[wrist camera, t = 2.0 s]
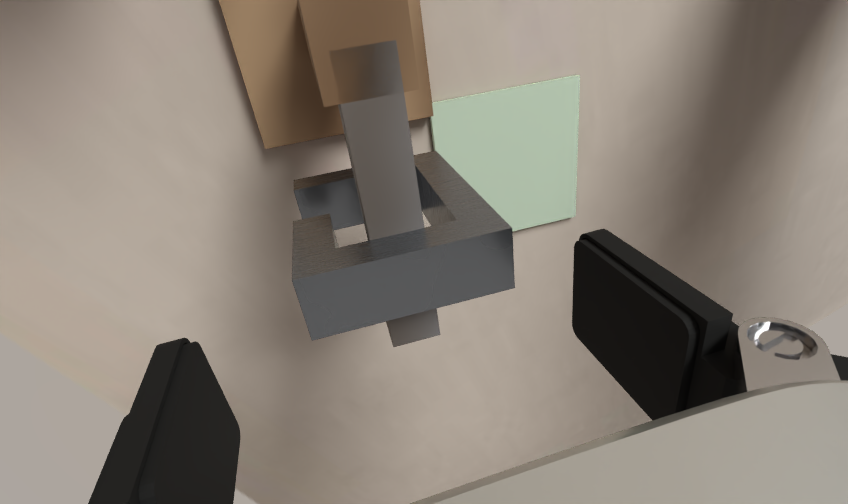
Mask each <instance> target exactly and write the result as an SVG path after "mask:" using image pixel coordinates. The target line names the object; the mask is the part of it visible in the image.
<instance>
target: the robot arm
mask: <svg viewBox="0 0 848 504" xmlns="http://www.w3.org/2000/svg"><path fill="white" fill-rule="evenodd" d="M732 316H733V313H731V312H729V311H728V310H726V309H725V308H723V307H722V306H720V305H719V304H717V303H716V302H714V301H713V300H711V299H710V298H708V297H707V296H705V295H704V294H702V293H701V292H699V291H698V290H696V289H695V288H693V287H692V286H690V285H689V284H687V283H686V282H684V281H683V280H681V279H680V278H678V277H677V276H675V275H674V274H672V273H671V272H669V271H668V270H666V269H665V268H663V267H662V266H660V265H659V264H657V263H656V262H654V261H653V260H651V259H650V258H648V257H647V256H645V255H644V254H642V253H641V252H639V251H638V250H636V249H635V248H633V247H632V246H630V245H629V244H627V243H626V242H624V241H623V240H621V239H620V238H618V237H617V236H615V235H614V234H612V233H611V232H609V231H608V230H605V229H600V230H596V231H592V232H589V233H585V234H582V235H581V236H580V238H579V241H577V242H576V243H575V246H574V274H573V312H572V326H573V330H574V333H575V335H576V336H577V338H578V339H579V340H580V341H581V342H582V343H583V344H584V345H585V346H586V348H587V349H588V350H589V351H590V352H591V353H592V354H593V355H594V356H595V357H596V359H597V360H598V361H599V362H600V363H601V364H602V365H603V366H604V367H605V369H606V370H607V371H608V372H609V373H610V374H611V375H612V376H613V377H614V378H615V380H616V381H617V382H618V383H619V384H620V385H621V386H622V387H623V388H624V389H625V391H626V392H627V393H628V394H629V395H630V396H631V397H632V398H633V399H634V400H635V402H636V403H637V404H638V405H639V406H640V407H641V408H642V409H643V410H644V411H645V413H646V414H647V415H648V416H649V417H650V418H651V419H652V420H653V421H650V422H647V423H644V424H641V425H638V426H635V427H632V428H630V429H627V430H624V431H621V432H618V433H615V434H612V435H609V436H606V437H603V438H600V439H597V440H594V441H591V442H588V443H585V444H582V445H579V446H576V447H573V448H570V449H567V450H564V451H561V452H558V453H555V454H553V455H550V456H547V457H544V458H541V459H538V460H535V461H532V462H529V463H526V464H523V465H520V466H517V467H515V468H512V469H509V470H506V471H503V472H500V473H497V474H494V475H491V476H488V477H485V478H483V479H480V480H477V481H474V482H471V483H468V484H465V485H462V486H459V487H456V488H454V489H451V490H448V491H445V492H442V493H439V494H436V495H433V496H430V497H427V498H425V499H422V500H419V501H416V502H413V503H410V504H848V357H842V356H837V355H832V354H830V352H829V349H828V347H827V345H826V343H825V342H824V341H823V339H822V338H821V337H819V336H818V335H817V334H816V333H815V332H813V331H811V330H810V329H808V328H806V327H804V326H802V325H799V324H797V323H794V322H791V321H788V320H783V319H778V318H767V317H761V318H753V319H750V320H747V321H745V322H743V323H742V324H741V325H740V326H738V325H736V324H735V323H733V322H732V321H731V320H732ZM239 446H240V429H239V425H238V423H237V420H236V418H235V416H234V414H233V412H232V410H231V408H230V406H229V404H228V402H227V400H226V398H225V396H224V394H223V391H222V389H221V387H220V385H219V383H218V381H217V379H216V377H215V375H214V373H213V371H212V369H211V367H210V365H209V363H208V361H207V358H206V356H205V354H204V352H203V350H202V348H201V346H200V345H199V343H198V342H192V343H190V341H189V340H188V339H187V338H182V339H178V340H174V341H170V342H166V343H163V344H159V345H157V346H156V348H155V350H154V353H153V355H152V358H151V360H150V363H149V365H148V368H147V370H146V373H145V375H144V378H143V380H142V383H141V385H140V388H139V390H138V393H137V395H136V398H135V400H134V403H133V405H132V408H131V410H130V413H129V414H128V415H127V416H126V417H124V419H123V421H122V423H121V425H120V427H119V430H118V432H117V435H116V437H115V439H114V442H113V444H112V447H111V449H110V452H109V454H108V456H107V459H106V461H105V464H104V466H103V469H102V471H101V474H100V476H99V479H98V481H97V483H96V486H95V489H94V491H93V493H92V496H91V498H90V501H89V503H88V504H233V500H234V491H235V482H236V473H237V464H238V455H239Z"/></svg>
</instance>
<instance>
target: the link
mask: <svg viewBox="0 0 848 504" xmlns="http://www.w3.org/2000/svg"><path fill="white" fill-rule="evenodd" d="M413 156H414V162H415V169H416V176H417V182H418V189H419V196H420V202H421V209H422V212H423V213H424V215H425V216H426V218H427V220H428V221H429V223H430V224H431V226H430V227H426V228H422V229H417V230H413V231H409V232H405V233H400V234H396V235H392V236H387V237H383V238H379V239H374V240H370V241H366V242H362V243H357V244H353V245H349V246H344V247H340V248H339V247H338V244H337V240H336V236H335V232H334V230H337V229H341V228H346V227H350V226H355V225H359V224H364V220H363V215H362V211H361V206H360V202H359V197H358V193H357V188H356V184H355V179H354V175H353V170H352V168H351V169H346V170H341V171H336V172H331V173H327V174H322V175H317V176H312V177H307V178H303V179H298V180H294V193H295V196H296V200H297V203H298V207H299V210H300V213H301V217H302V220H297V221H293V257H292V282H293V285H294V288H295V291H296V294H297V297H298V300H299V303H300V306H301V309H302V312H303V315H304V318H305V321H306V324H307V327H308V330H309V333H310V336H311V339H312V340H316V339H320V338H324V337H328V336H332V335H335V334H339V333H343V332H347V331H351V330H355V329H359V328H362V327H366V326H370V325H374V324H378V323H382V322H385V321H389V320H393V319H397V318H401V317H405V316H409V315H412V314H416V313H420V312H424V311H428V310H432V309H435V308H439V307H443V306H447V305H451V304H455V303H459V302H462V301H466V300H470V299H474V298H478V297H482V296H485V295H489V294H493V293H497V292H501V291H505V290H509V289H512V288H515V282H514V259H513V236H512V227H511V226H510V225H509V224H508V223H507V222H506V221H505V220H504V219H503V218H502V217H501V216H500V215H499V214H498V213H497V212H496V211H495V210H494V209H493V208H492V207H491V206H490V205H489V204H488V203H487V202H486V201H485V200H484V199H483V198H482V197H481V196H480V195H479V194H478V193H477V192H476V191H475V190H474V189H473V188H472V187H471V186H470V185H469V184H468V183H467V182H466V181H465V180H464V179H463V178H462V177H461V176H460V175H459V174H458V173H457V172H456V171H455V170H454V169H453V167H452V166H451V165H450V164H449V163H448V162H447V161H446V160H445V159H444V158H443V157H442V156H441V155H440V154H439V153H438V152H437V151H432V152H428V153H423V154H418V155H413Z"/></svg>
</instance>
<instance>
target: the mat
mask: <svg viewBox="0 0 848 504" xmlns="http://www.w3.org/2000/svg"><path fill="white" fill-rule="evenodd" d="M579 91H580V76H579V75H573V76H568V77H562V78H557V79H552V80H547V81H542V82H536V83H531V84H526V85H521V86H516V87H510V88H505V89H500V90H495V91H490V92H484V93H479V94H474V95H469V96H463V97H458V98H453V99H448V100H443V101H437V102H432V107H433V115H434V116H431V117H430V124H431V132H432V140H433V147H434V151H437V152H438V153H439V154H440V155H441V156H442V157H443V158H444V159H445V160H446V161H447V162H448V163H449V164H450V165H451V166H452V167H453V169H454V170H455V171H456V172H457V173H458V174H459V175H460V176H461V177H462V178H463V179H464V180H465V181H466V182H467V183H468V184H469V185H470V186H471V187H472V188H473V189H474V190H475V191H476V192H477V193H478V194H479V195H480V196H481V197H482V198H483V199H484V200H485V201H486V202H487V203H488V204H489V205H490V206H491V207H492V208H493V209H494V210H495V211H496V212H497V213H498V214H499V215H500V216H501V217H502V218H503V219H504V220H505V221H506V222H507V223H508V224H509V225H510V226H511V227H512V232H513V231H517V230H521V229H525V228H529V227H533V226H537V225H542V224H546V223H550V222H554V221H558V220H562V219H567V218H571V217H575V214H576V184H577V153H578V122H579Z"/></svg>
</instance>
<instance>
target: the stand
mask: <svg viewBox="0 0 848 504" xmlns="http://www.w3.org/2000/svg"><path fill="white" fill-rule="evenodd" d="M219 3H220V6H221V9H222V12H223V16H224V19H225V22H226V25H227V28H228V32H229V35H230V38H231V41H232V44H233V48H234V51H235V54H236V57H237V60H238V64H239V67H240V70H241V73H242V76H243V80H244V83H245V86H246V89H247V92H248V96H249V99H250V102H251V105H252V108H253V112H254V115H255V118H256V121H257V124H258V128H259V131H260V134H261V137H262V140H263V144H264V147H265V149H268V148H273V147H278V146H283V145H288V144H294V143H299V142H304V141H309V140H314V139H319V138H324V137H329V136H334V135H339V134H345V139H346V143H347V148H348V152H349V157H350V161H351V166H352V170H353V175H354V179H355V184H356V188H357V193H358V197H359V202H360V206H361V211H362V215H363V220H364V224H365V229H366V233H367V238H368V241H370V240H374V239H379V238H383V237H387V236H392V235H396V234H400V233H405V232H409V231H413V230H417V229H422V228H424V222H423V216H422V209H421V202H420V196H419V189H418V182H417V176H416V169H415V162H414V156H413V149H412V142H411V136H410V129H409V122H408V121H411V120H416V119H421V118H426V117H431V116H434V115H433V107H432V98H431V90H430V82H429V74H428V66H427V57H426V49H425V41H424V33H423V25H422V16H421V8H420V0H219ZM386 323H387V326H388V330H389V333H390V337H391V340H392V344H393V347H396V346H400V345H404V344H408V343H411V342H415V341H419V340H422V339H426V338H430V337H434V336H437V335H440V329H439V323H438V316H437V309H436V308H435V309H432V310H428V311H424V312H420V313H416V314H412V315H409V316H405V317H401V318H397V319H393V320H389V321H386Z"/></svg>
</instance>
